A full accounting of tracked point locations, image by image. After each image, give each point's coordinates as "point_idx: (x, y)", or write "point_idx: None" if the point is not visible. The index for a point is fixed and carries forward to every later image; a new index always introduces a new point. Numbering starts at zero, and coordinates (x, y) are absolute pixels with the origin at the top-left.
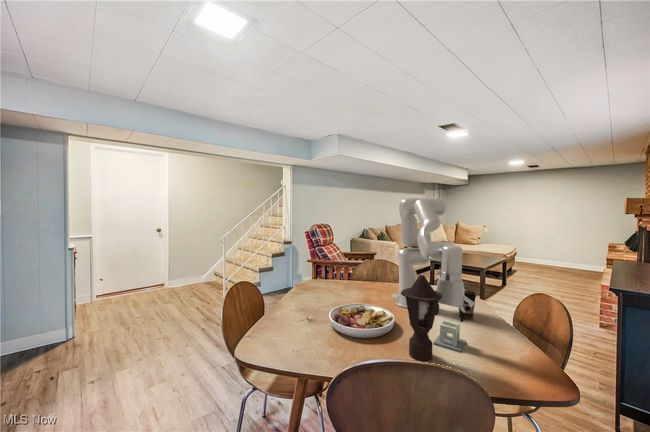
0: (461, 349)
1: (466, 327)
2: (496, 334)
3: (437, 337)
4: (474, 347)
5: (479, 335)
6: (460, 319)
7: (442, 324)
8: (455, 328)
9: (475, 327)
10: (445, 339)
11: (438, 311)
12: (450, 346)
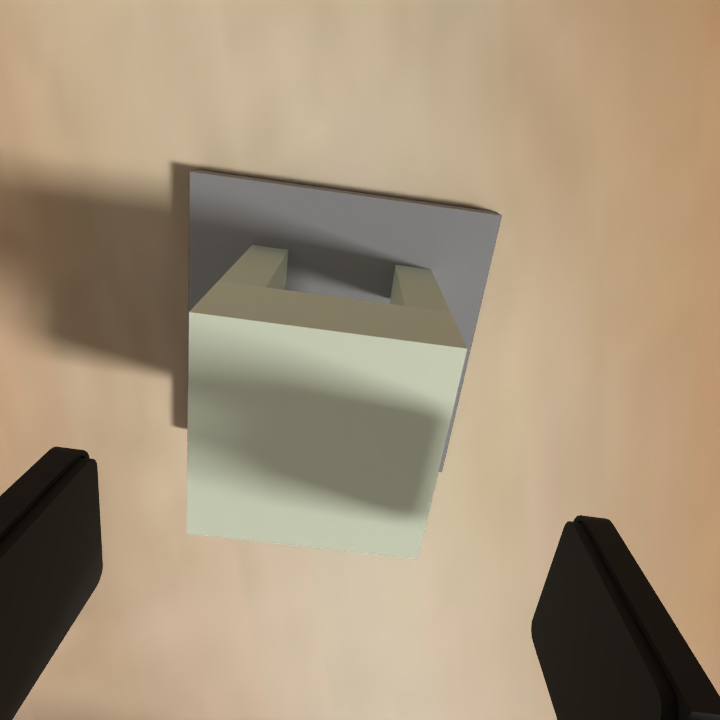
0: (192, 224)
1: (243, 689)
2: None
3: (464, 364)
4: (102, 364)
5: (120, 605)
6: (71, 481)
7: (430, 381)
8: (205, 324)
9: (179, 715)
10: None
11: (553, 642)
12: (306, 215)
